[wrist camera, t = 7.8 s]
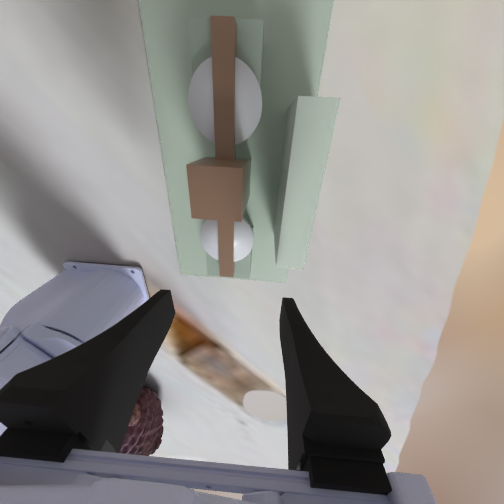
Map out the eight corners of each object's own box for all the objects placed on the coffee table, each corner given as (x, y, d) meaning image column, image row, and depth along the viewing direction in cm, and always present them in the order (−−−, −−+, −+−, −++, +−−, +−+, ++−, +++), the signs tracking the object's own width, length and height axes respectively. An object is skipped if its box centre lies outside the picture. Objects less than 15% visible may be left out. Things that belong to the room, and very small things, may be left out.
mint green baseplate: (183, 269, 24) (156, 314, 18) (143, -12, 13) (38, -133, 7) (285, 277, 24) (291, 326, 18) (331, -5, 13) (388, -128, 7)
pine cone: (187, 412, 43) (166, 482, 34) (145, 414, 45) (116, 481, 36) (147, 363, 35) (107, 439, 26) (97, 367, 36) (44, 440, 28)
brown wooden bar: (204, 268, 19) (190, 298, 16) (185, 23, 11) (147, -27, 8) (251, 272, 19) (248, 303, 15) (267, 26, 11) (266, -23, 7)
